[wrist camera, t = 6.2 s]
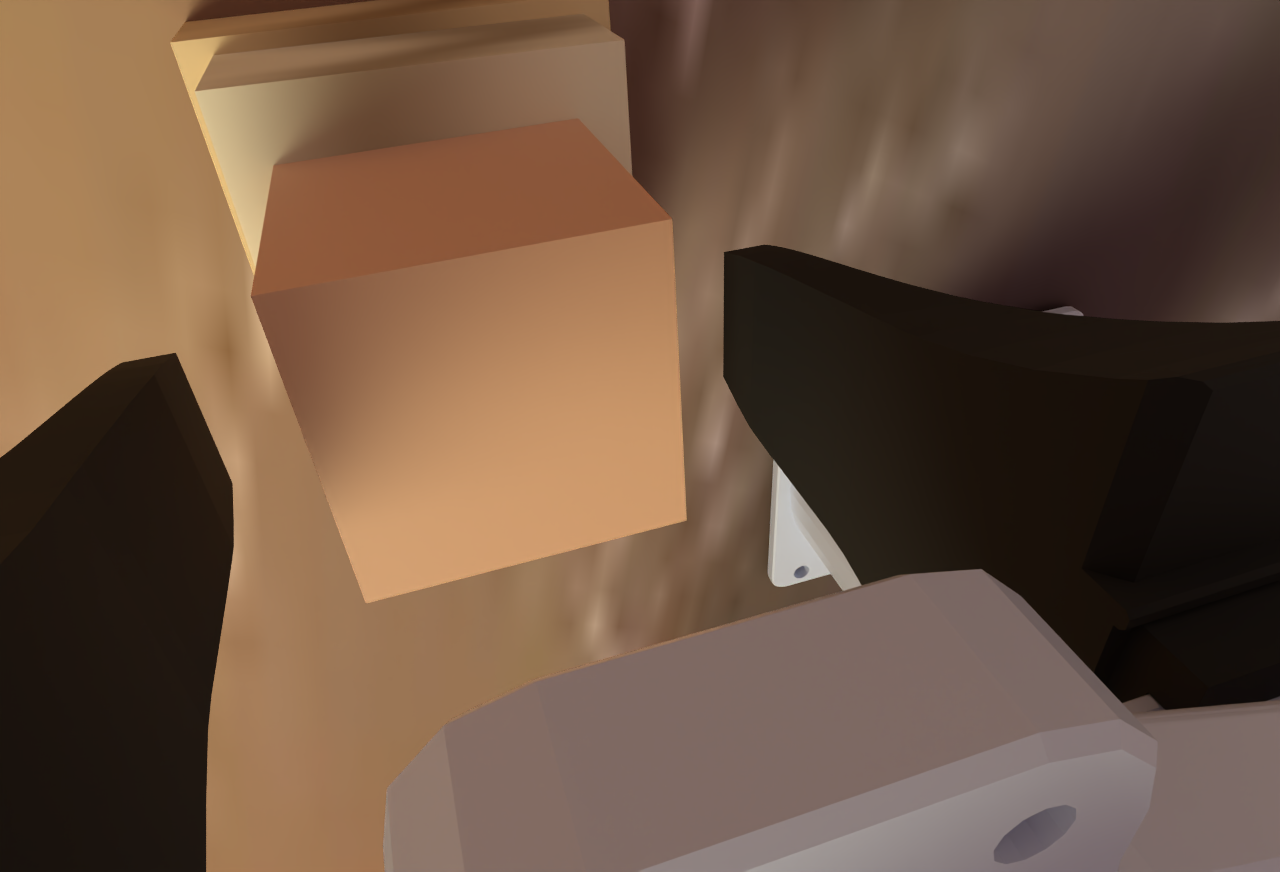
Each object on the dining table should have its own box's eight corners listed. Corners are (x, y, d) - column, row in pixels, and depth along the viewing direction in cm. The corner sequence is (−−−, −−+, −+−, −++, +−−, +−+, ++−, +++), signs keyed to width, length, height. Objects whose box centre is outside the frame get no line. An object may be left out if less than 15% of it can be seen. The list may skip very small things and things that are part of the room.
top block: (583, 13, 14) (624, 39, 13) (609, 322, 18) (644, 381, 16) (213, 55, 13) (194, 91, 11) (318, 379, 17) (318, 450, 15)
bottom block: (573, -27, 16) (607, -10, 14) (603, 298, 20) (633, 346, 19) (189, 16, 15) (170, 42, 13) (305, 357, 19) (304, 416, 17)
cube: (578, 118, 13) (672, 218, 9) (604, 368, 16) (686, 520, 12) (273, 165, 12) (251, 295, 9) (356, 422, 15) (366, 603, 11)
